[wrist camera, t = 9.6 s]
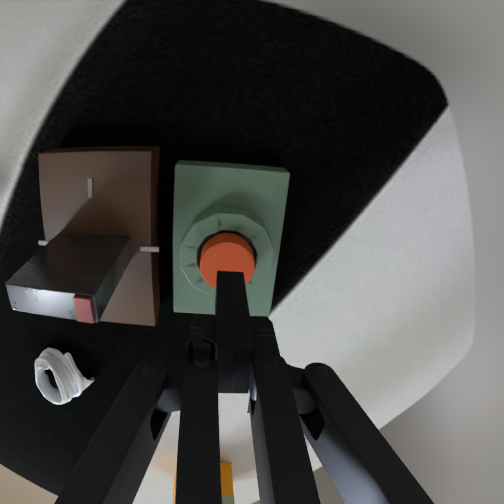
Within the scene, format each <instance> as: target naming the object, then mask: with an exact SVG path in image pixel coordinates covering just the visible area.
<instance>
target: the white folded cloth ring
mask: <svg viewBox="0 0 504 504" xmlns="http://www.w3.org/2000/svg"><path fill="white" fill-rule="evenodd" d="M49 368H50V369H51V370H52V371H53V374H54V377H55V380H56V383H57V385H58V388H59V389H57V388H53V387H52V386H51V384H50V382H49V378H48V375H47V374H46V375H45V370H48V369H49ZM35 376H36V384H37V386H38V388H39V389H40V391H41V393H42V394H43V396H44V397H45V398H46V399H48V400H49V401H50V402H52V403H54V404H58V405H60V404H64V403H66V402H69V401H71V399H72V397H77V396H79V395H80V394H81V393H82V391H83V390H84V389H86V387H88V386H89V385H90V384H91V383H92V382H93V381H94V378H93V377H92V378H91V379H90V380H87V379H86V377H83V376H82V374H81V372H80V371H79V370H78V368H77V366H76V364H75V362H74V360H73V358H72V356H71V354H70V353H66V354H65V355H63V354H62V353H61V352H60V351H59V350H57V349H54V348H47V349H45V350H44V351H43V352H42V353H41V354H40V356H39V358H37V359H36V361H35Z"/></svg>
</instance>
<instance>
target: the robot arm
mask: <svg viewBox="0 0 504 504" xmlns="http://www.w3.org/2000/svg"><path fill="white" fill-rule="evenodd" d="M248 391H250V398H249V404H248V411H247V413H250V418H251V427H252V436H253V445H254V454H255V462H256V471H257V479H258V487H259V496H260V503H261V504H320V500H319V496H318V491H317V488H316V483H315V479H314V475H313V471H312V466H311V462H310V458H309V454H308V450H307V446H306V442H305V438H304V434H305V436H306V438H307V439H308V441H309V443H310V444H311V446H312V448H313V450H314V451H315V453H316V455H317V457H318V458H319V460H320V462H321V463H322V465H323V467H324V468H325V470H326V472H327V474H328V475H329V477H330V479H331V480H332V482H333V484H334V485H335V487H336V489H337V490H338V492H339V494H340V495H341V497H342V499H343V500H344V502H345V503H346V504H434V503H433V501H432V500H431V499H430V498H429V496H428V495H427V494H426V492H425V491H424V490H423V488H422V487H421V486H420V484H419V483H418V482H417V480H416V479H415V478H414V476H413V475H412V474H411V473H410V471H409V470H408V469H407V467H406V466H405V465H404V463H403V462H402V461H401V459H400V458H399V457H398V455H397V454H396V453H395V451H394V450H393V449H392V447H391V446H390V445H389V443H388V442H387V441H386V439H385V438H384V437H383V436H382V434H381V433H380V432H379V430H378V429H377V428H376V426H375V425H374V424H373V422H372V421H371V420H370V418H369V417H368V416H367V414H366V413H365V412H364V410H363V409H362V408H361V406H360V405H359V404H358V402H357V401H356V400H355V398H354V397H353V396H352V394H351V393H350V392H349V390H348V389H347V388H346V386H345V385H344V384H343V382H342V381H341V380H340V378H339V377H338V376H337V374H336V373H335V372H334V370H333V369H332V368H331V367H330V366H328V365H326V364H323V363H311V364H309V365H307V366H306V367H305V369H301V368H297V367H293V366H290V365H288V364H287V363H286V362H285V360H284V358H282V357H281V356H280V353H279V348H278V344H277V340H276V336H275V332H274V328H273V323H272V322H271V321H270V320H269V318H268V317H263V316H250V313H249V307H248V300H247V293H246V286H245V279H244V272H235V271H217V278H216V296H215V315H197V314H196V315H195V316H194V317H193V318H192V320H191V324H190V332H189V340H188V341H186V344H185V359H184V360H183V361H182V362H180V363H178V364H175V365H170V366H166V365H165V364H164V363H163V362H161V361H159V360H154V359H149V360H144V361H142V362H140V363H139V364H138V365H137V366H136V368H135V369H134V371H133V372H132V374H131V376H130V377H129V379H128V380H127V382H126V384H125V385H124V387H123V388H122V390H121V392H120V393H119V395H118V396H117V398H116V400H115V401H114V403H113V405H112V406H111V408H110V409H109V411H108V413H107V414H106V416H105V418H104V419H103V421H102V423H101V424H100V426H99V428H98V429H97V431H96V433H95V434H94V436H93V438H92V439H91V441H90V443H89V444H88V446H87V448H86V449H85V451H84V453H83V455H82V456H81V458H80V460H79V461H78V463H77V465H76V467H75V468H74V470H73V472H72V473H71V475H70V477H69V479H68V480H67V482H66V484H65V486H64V487H63V489H62V491H61V493H60V495H59V496H58V498H57V500H56V502H55V504H132V503H133V501H134V498H135V496H136V494H137V491H138V489H139V487H140V485H141V482H142V480H143V478H144V475H145V473H146V471H147V468H148V466H149V464H150V461H151V459H152V457H153V455H154V452H155V450H156V448H157V445H158V443H159V441H160V438H161V436H162V434H163V432H164V429H165V427H166V425H167V422H168V420H169V418H170V416H171V412H173V411H178V410H181V412H180V425H179V439H178V455H177V473H176V495H175V504H222V491H221V470H220V446H219V415H218V393H248ZM303 432H304V434H303Z"/></svg>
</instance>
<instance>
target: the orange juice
mask: <svg viewBox="0 0 504 504" xmlns="http://www.w3.org/2000/svg"><path fill="white" fill-rule="evenodd" d="M220 470H221V491H222V504H234V495H233V481H232V467H231V463H227V462H220ZM176 473H177V472H176ZM175 495H176V475H175V478H174V494H173V504H175Z"/></svg>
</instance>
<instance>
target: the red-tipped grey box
mask: <svg viewBox="0 0 504 504" xmlns="http://www.w3.org/2000/svg"><path fill="white" fill-rule="evenodd" d="M130 261H131V238H130V237H122V236H106V235H90V234H74V233H58V234H57V235H56V236H55V237H54V238H53V239H52V240H51V241H49V242H48V243H47V244H46V245H45V246H44V247H43V248H42V249H41V250H40V251H38V252H37V253H36V254H35V255H34V256H33V257H32V258H31V259H30V260H29V261H28V262H27V263H26V264H25V265H24V266H23V267H22V268H21V269H20V270H19V271H18V272H17V273H16V274H15V275H14V276H13V277H12V278H11V279H10V280H9V281H8V282H7V283H6V288H7V292H8V295H9V299H10V303H11V306H12V309H13V310H18V311H23V312H29V313H35V314H41V315H47V316H53V317H59V318H66V319H73V320H77V321H80V322H88V323H94V322H95V323H98V322H99V321H100V319H101V317H102V315H103V313H104V310H105V308H106V306H107V304H108V303H109V301H110V299H111V297H112V295H113V293H114V291H115V289H116V287H117V285H118V283H119V281H120V279H121V277H122V276H123V274H124V272H125V270H126V268H127V266H128V264H129V263H130Z"/></svg>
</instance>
